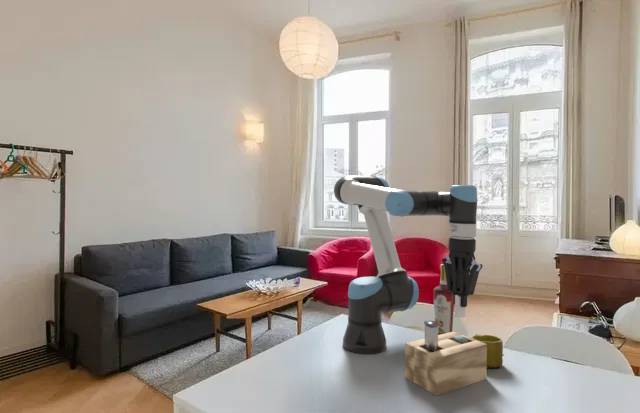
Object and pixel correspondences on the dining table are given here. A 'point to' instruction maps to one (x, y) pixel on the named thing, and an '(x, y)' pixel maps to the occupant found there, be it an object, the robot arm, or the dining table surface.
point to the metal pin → (431, 335)
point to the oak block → (446, 363)
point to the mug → (492, 349)
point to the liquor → (443, 305)
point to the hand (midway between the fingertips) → (459, 316)
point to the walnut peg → (460, 339)
